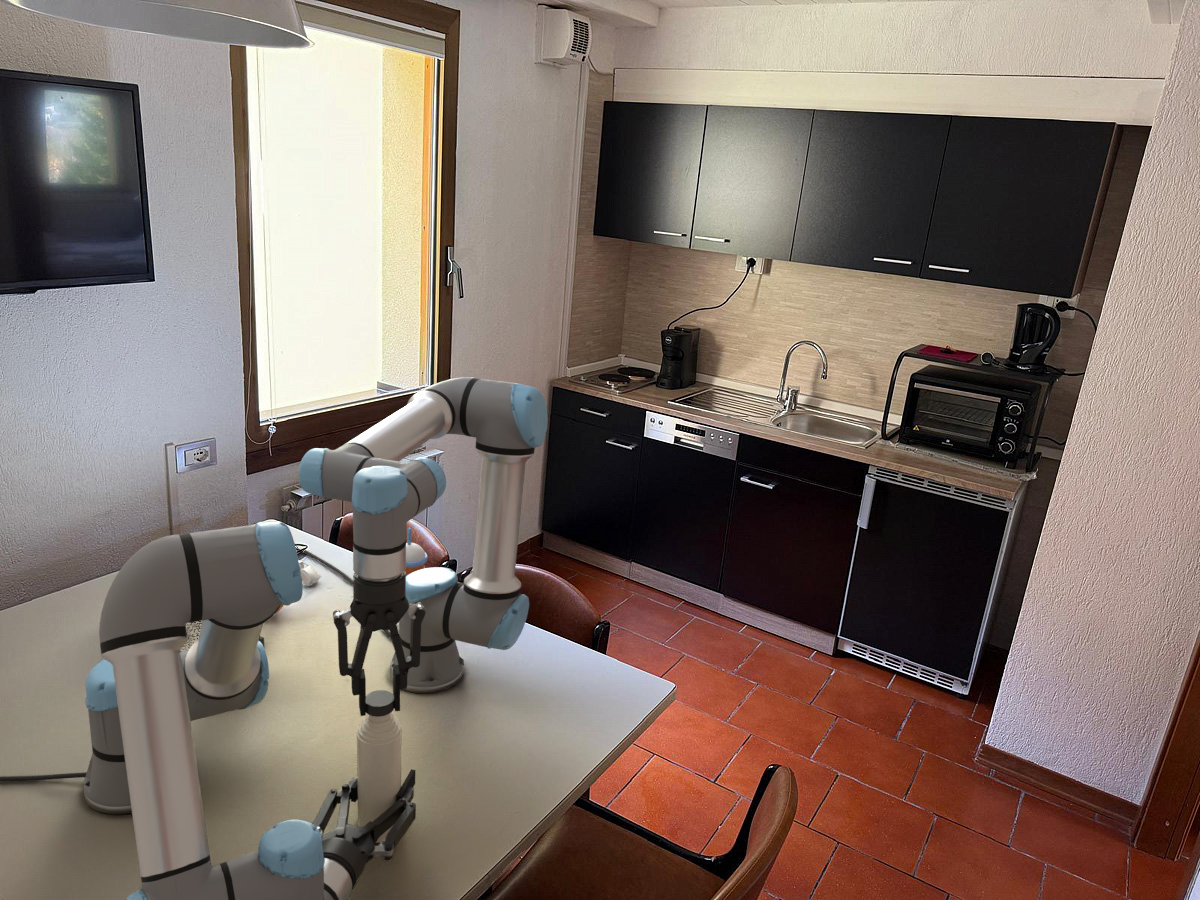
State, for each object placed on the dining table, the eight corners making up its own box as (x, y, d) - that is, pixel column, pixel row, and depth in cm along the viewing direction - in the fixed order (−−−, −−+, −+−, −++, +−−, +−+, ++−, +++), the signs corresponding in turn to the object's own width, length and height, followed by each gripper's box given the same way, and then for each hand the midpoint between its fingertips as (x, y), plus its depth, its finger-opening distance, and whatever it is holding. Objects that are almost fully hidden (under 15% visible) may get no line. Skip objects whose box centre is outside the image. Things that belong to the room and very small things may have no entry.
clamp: (253, 565, 223) (254, 542, 221) (265, 560, 226) (266, 537, 224) (309, 593, 215) (310, 569, 213) (320, 588, 218) (321, 564, 216)
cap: (400, 704, 134) (400, 694, 133) (384, 720, 130) (384, 709, 129) (375, 696, 135) (375, 687, 135) (358, 712, 131) (358, 702, 130)
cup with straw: (418, 605, 211) (419, 537, 205) (383, 599, 212) (384, 532, 207) (432, 589, 219) (433, 524, 214) (399, 583, 221) (399, 519, 215)
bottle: (408, 831, 139) (409, 704, 132) (368, 849, 134) (368, 718, 127) (389, 807, 144) (390, 683, 136) (350, 823, 139) (349, 696, 132)
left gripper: (263, 886, 122) (335, 781, 144) (395, 911, 120) (448, 801, 142) (261, 843, 120) (334, 743, 142) (396, 868, 118) (449, 763, 139)
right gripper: (435, 556, 132) (432, 687, 139) (315, 565, 126) (319, 702, 133) (443, 577, 125) (440, 714, 132) (318, 588, 119) (321, 731, 126)
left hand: (391, 772), depth 142 cm, fingers closed on bottle, 7 cm apart
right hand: (379, 708), depth 132 cm, fingers closed on cap, 4 cm apart
